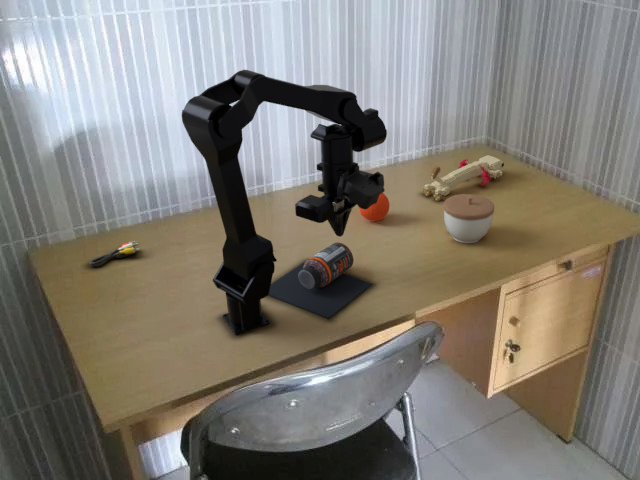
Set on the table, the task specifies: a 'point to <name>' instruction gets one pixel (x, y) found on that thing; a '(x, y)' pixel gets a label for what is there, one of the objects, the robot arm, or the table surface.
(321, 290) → the mat
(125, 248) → the composite cable
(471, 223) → the trinket box
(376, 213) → the clementine
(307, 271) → the supplement bottle
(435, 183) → the beige blocky animal figure
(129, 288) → the table surface
